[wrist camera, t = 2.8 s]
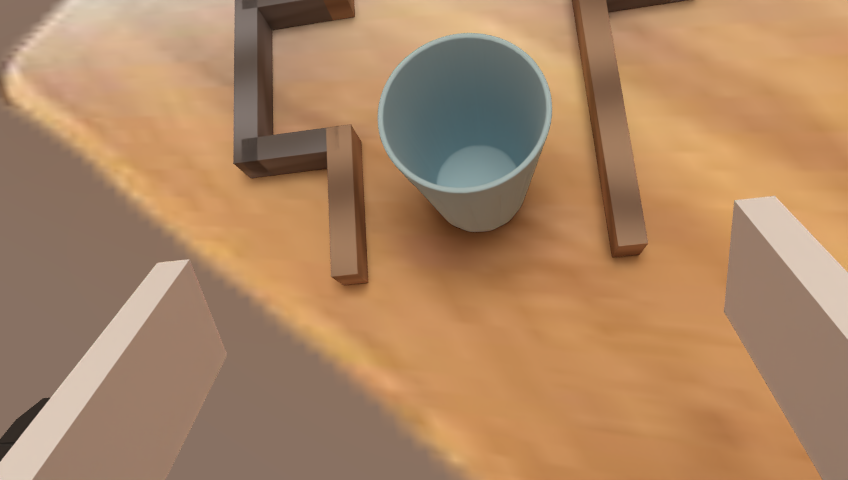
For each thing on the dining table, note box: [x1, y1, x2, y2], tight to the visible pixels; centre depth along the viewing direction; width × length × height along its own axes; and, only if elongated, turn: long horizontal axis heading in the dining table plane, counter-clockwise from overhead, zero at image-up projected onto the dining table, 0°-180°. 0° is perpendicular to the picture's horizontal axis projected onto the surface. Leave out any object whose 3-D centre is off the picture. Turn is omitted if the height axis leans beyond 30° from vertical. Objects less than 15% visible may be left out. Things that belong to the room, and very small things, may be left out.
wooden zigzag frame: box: [233, 0, 684, 285], centre depth 39 cm, size 32×28×4 cm
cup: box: [378, 33, 552, 232], centre depth 33 cm, size 8×8×10 cm
